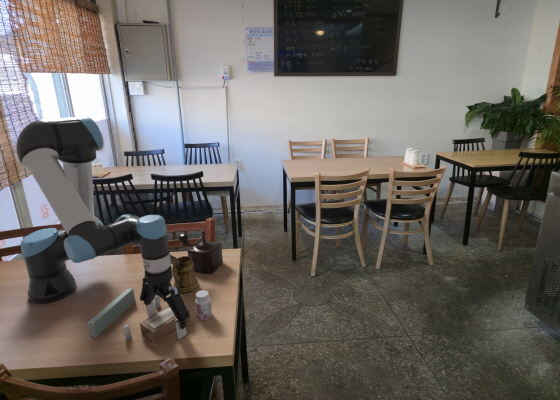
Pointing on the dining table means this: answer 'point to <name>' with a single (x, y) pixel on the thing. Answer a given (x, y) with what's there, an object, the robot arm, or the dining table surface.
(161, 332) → the frame
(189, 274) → the wooden mug
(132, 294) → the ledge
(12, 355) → the dining table surface
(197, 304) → the pill bottle
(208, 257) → the dark brown coffee grinder
